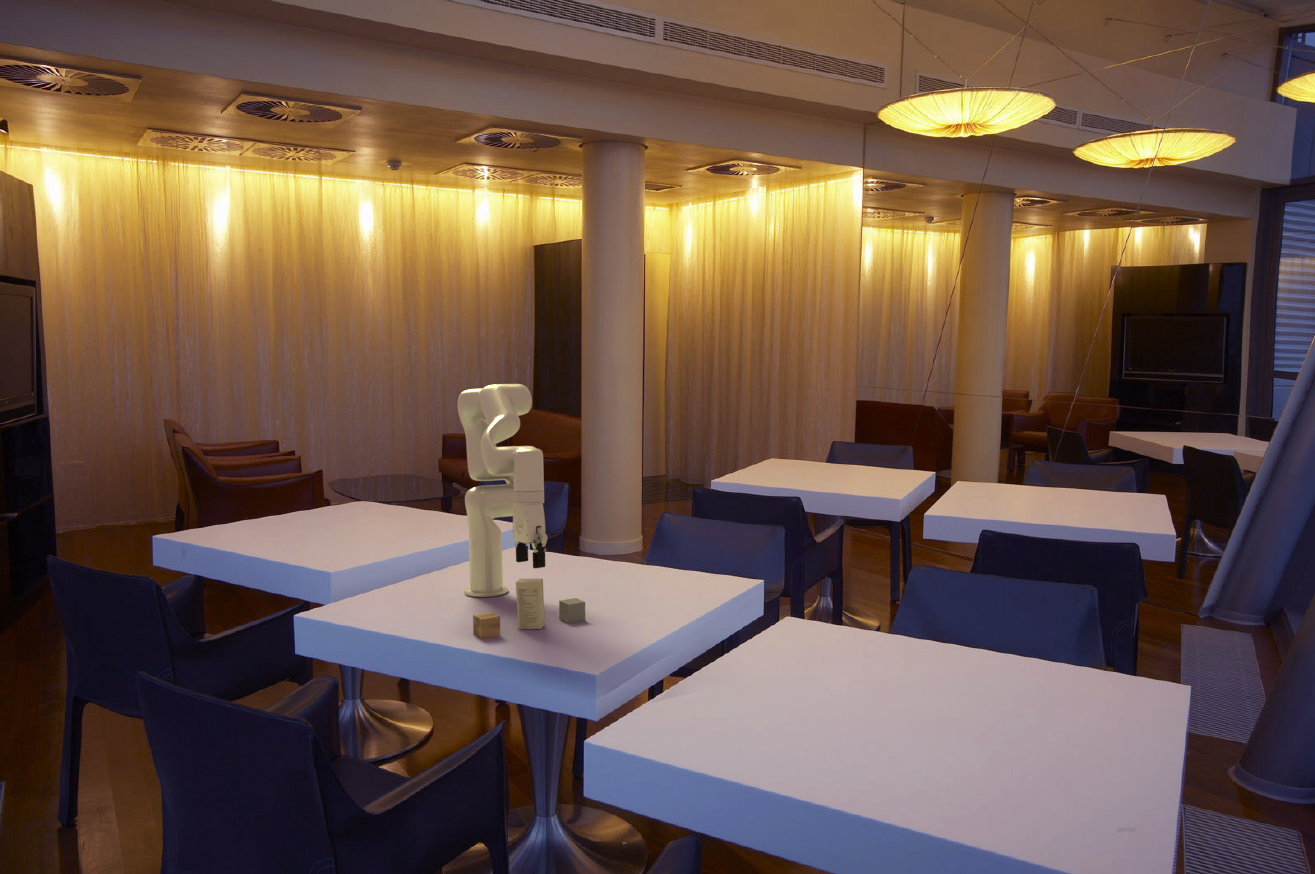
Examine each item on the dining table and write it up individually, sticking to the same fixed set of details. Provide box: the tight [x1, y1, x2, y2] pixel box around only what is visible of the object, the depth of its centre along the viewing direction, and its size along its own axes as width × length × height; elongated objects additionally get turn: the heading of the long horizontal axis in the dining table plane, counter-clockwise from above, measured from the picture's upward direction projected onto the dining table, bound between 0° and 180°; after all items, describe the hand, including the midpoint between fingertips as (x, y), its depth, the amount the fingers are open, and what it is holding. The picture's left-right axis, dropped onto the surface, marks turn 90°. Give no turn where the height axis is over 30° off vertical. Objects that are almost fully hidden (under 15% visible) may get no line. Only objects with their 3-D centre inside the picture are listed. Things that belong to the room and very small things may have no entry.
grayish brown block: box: [558, 597, 586, 624], centre depth 236 cm, size 5×5×5 cm
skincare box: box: [515, 578, 546, 630], centre depth 229 cm, size 6×4×12 cm
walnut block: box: [472, 611, 501, 640], centre depth 223 cm, size 5×5×5 cm
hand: (530, 564), depth 228 cm, fingers open, 9 cm apart
